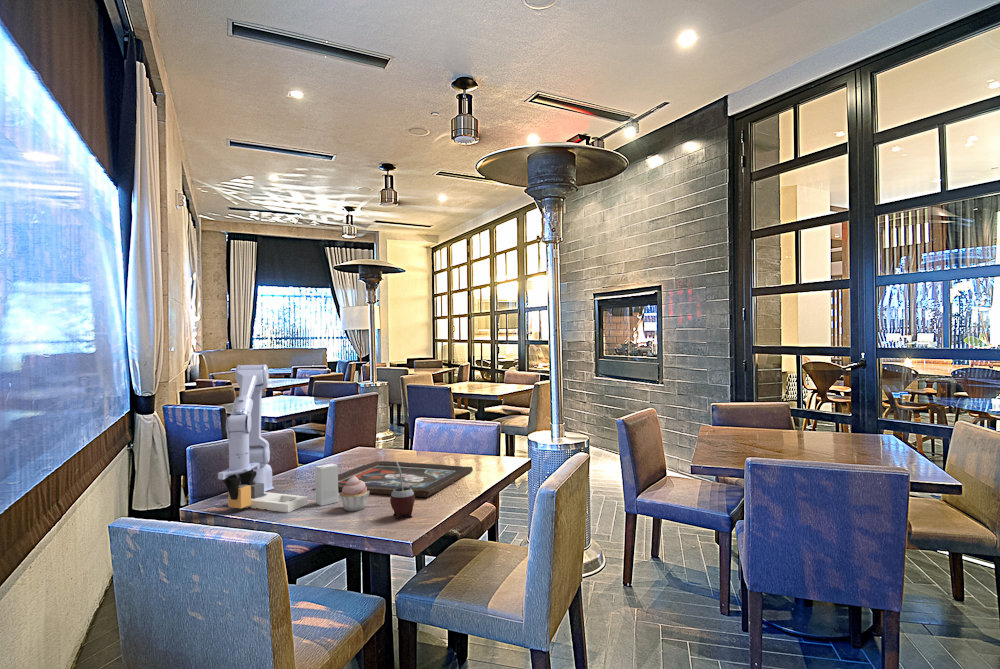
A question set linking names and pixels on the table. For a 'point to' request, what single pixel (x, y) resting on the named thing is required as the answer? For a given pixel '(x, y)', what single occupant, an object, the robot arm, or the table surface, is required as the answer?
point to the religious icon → (404, 477)
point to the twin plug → (257, 490)
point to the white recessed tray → (278, 502)
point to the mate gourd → (402, 500)
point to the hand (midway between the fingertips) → (239, 497)
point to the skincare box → (326, 484)
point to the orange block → (241, 497)
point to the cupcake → (354, 495)
